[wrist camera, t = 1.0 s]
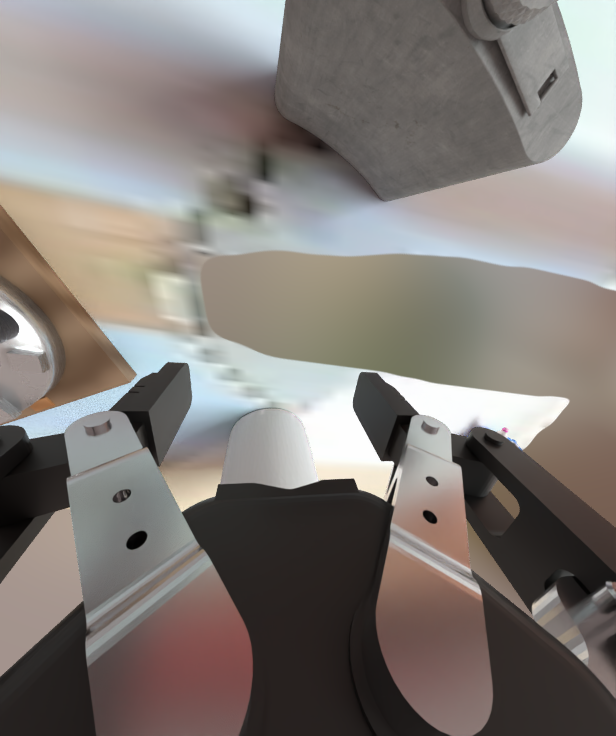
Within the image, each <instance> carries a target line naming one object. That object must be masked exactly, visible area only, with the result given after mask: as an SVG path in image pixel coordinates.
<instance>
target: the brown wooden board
mask: <svg viewBox="0 0 616 736" xmlns="http://www.w3.org/2000/svg"><path fill="white" fill-rule="evenodd" d="M0 275H1V276H2V277H4V278H5V279H7V280H8V281H10V282H11V283H12V284H14V285H15V286H17V287H18V288H19V289H20V290H22V291H23V292H24V293H25V294H26V295H28V296H29V297H30V298H31V299H32V300H33V301H34V302H35V303H36V304H37V305H38V306H39V307H40V308H41V309H42V310H43V312H44V313H45V314H46V315H47V316H48V318H49V319H50V320H51V322H52V323H53V325H54V326H55V328H56V329H57V331H58V334H59V336H60V338H61V340H62V343H63V346H64V349H65V356H66V364H65V370H64V374H63V376H62V378H61V380H60V381H59V382H58V384H57V385H56V386H55V387H54V388H53V389H52V390H51V391H49V392H48V393H47V394H45V395H44V396H43V397H42V398H40V399H39V400H38V401H36V402H35V403H34V404H32V405H31V406H29V407H28V408H26V409H24V410H23V411H21V412H22V414H21V415H19V416H18V417H17V418H16V419H14V420H10V421H7V422H4V423H1V424H0V425H3V424H6V423H9V422H12V421H15V420H18V419H21V418H24V417H27V416H30V415H33V414H36V413H39V412H42V411H45V410H48V409H51V408H54V407H58V406H61V405H64V404H67V403H70V402H73V401H76V400H79V399H82V398H85V397H88V396H91V395H94V394H97V393H100V392H103V391H106V390H109V389H112V388H115V387H118V386H121V385H124V384H127V383H130V382H131V381H132V380H133V379H134V377H135V376H136V375H137V374H136V373H135V372H134V370H133V369H132V368H131V367H130V365H129V364H128V363H127V362H126V361H125V359H124V358H123V357H122V356H121V354H120V353H119V352H118V351H117V349H116V348H115V347H114V346H113V344H112V343H111V342H110V341H109V339H108V338H107V337H106V336H105V334H104V333H103V332H102V331H101V329H100V328H99V327H98V326H97V324H96V323H95V322H94V321H93V319H92V318H91V317H90V316H89V314H88V313H87V312H86V311H85V309H84V308H83V307H82V306H81V304H80V303H79V302H78V301H77V300H76V298H75V297H74V296H73V295H72V293H71V292H70V291H69V290H68V288H67V287H66V286H65V285H64V283H63V282H62V281H61V280H60V278H59V277H58V276H57V275H56V273H55V272H54V271H53V270H52V268H51V267H50V266H49V265H48V263H47V262H46V261H45V260H44V258H43V257H42V256H41V255H40V253H39V252H38V251H37V250H36V248H35V247H34V246H33V245H32V243H31V242H30V241H29V240H28V239H27V237H26V236H25V235H24V234H23V232H22V231H21V230H20V229H19V227H18V226H17V225H16V224H15V222H14V221H13V220H12V219H11V217H10V216H9V215H8V214H7V212H6V211H5V210H4V209H3V207H2V206H1V205H0Z"/></svg>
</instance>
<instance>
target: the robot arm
mask: <svg viewBox="0 0 616 736" xmlns="http://www.w3.org/2000/svg"><path fill="white" fill-rule="evenodd" d="M191 401H192V391H191V381H190V371H189V366H188V364H187V363H173V362H168V363H166V364H165V365H164V366H163V367H162V369H161V370H160V371H159V372H158V373H152V374H150V375H148V376H146V377H143V378H142V379H140V380H139V381H138V382H137V383H136V384H135V385H134V387H132V388H131V389H130V390H129V391H128V393H126V394H125V395H124V396H123V397H122V398H121V399H120V400H119V401H118V402H117V403H116V404H115V405H114V406H113V407H112V408H111V409H110V410H109V411H103V412H98V413H94V414H90V415H87V416H85V417H82V418H80V419H78V420H77V421H75V422H73V423H72V424H71V425H70V426H68V428H67V429H66V430H65V433H62V434H57V435H51V436H45V437H39V438H34V439H29V438H28V435H27V433H26V431H25V430H24V428H22V427H19V426H12V425H7V426H0V583H1V582H2V581H3V579H4V578H5V577H6V575H7V574H8V573H9V571H10V570H11V569H12V567H13V566H14V565H15V564H16V562H17V561H18V559H19V558H20V557H21V556H22V554H23V553H24V552H25V550H26V549H27V548H28V546H29V545H30V544H31V542H32V541H33V540H34V538H35V537H36V536H37V534H38V533H39V532H40V531H41V529H42V528H43V527H44V525H45V524H46V523H47V521H48V520H49V519H50V517H51V516H52V515H53V514H54V512H55V511H58V510H62V509H65V508H69V507H70V510H71V516H72V524H73V530H74V538H75V544H76V552H77V558H78V565H79V572H80V580H81V587H82V593H83V602H81V604H79V605H78V606H77V607H76V608H75V609H74V610H73V611H72V612H70V613H69V614H68V615H67V616H66V617H65V618H64V619H63V620H62V621H61V622H60V623H59V624H57V626H55V627H54V628H53V629H52V630H51V631H50V632H49V633H48V634H47V635H45V636H44V637H43V638H42V639H41V640H40V641H39V642H38V643H37V644H36V645H35V646H33V647H32V648H31V649H30V650H29V651H28V652H27V653H26V654H25V655H24V656H23V657H22V658H20V659H19V660H18V661H17V662H16V663H15V664H14V665H13V666H12V667H11V668H9V669H8V670H7V671H6V672H5V673H4V674H3V675H2V676H1V677H0V736H616V528H615V527H614V526H613V525H611V524H610V523H609V522H608V521H607V520H605V519H604V518H603V517H602V516H601V515H599V514H598V513H597V512H596V511H595V510H593V509H592V508H591V507H590V506H589V505H587V504H586V503H585V502H584V501H582V500H581V499H580V498H579V497H578V496H576V495H575V494H574V493H573V492H572V491H570V490H569V489H568V488H567V487H565V486H564V485H563V484H562V483H560V482H559V481H558V480H557V479H556V478H555V477H553V476H552V475H551V474H550V473H548V472H547V471H546V470H545V469H544V468H543V467H541V466H540V465H539V464H538V463H536V462H535V461H534V460H533V459H531V458H530V457H529V456H528V455H527V454H526V453H524V452H523V451H522V450H521V449H520V448H518V447H517V446H516V445H515V444H513V443H512V442H511V441H510V440H509V439H507V438H506V437H504V436H503V435H501V434H499V433H497V432H495V431H492V430H490V429H486V428H481V427H476V428H473V429H472V430H471V432H470V434H469V436H468V437H465V436H461V435H456V434H451V432H450V430H449V428H448V427H447V426H446V425H445V424H443V423H442V422H440V421H439V420H437V419H435V418H432V417H429V416H426V415H419V414H418V412H417V411H416V410H415V409H414V408H413V407H412V406H411V405H410V404H409V403H408V402H407V401H405V398H404V397H403V396H402V395H400V393H399V392H398V391H397V390H396V389H395V388H394V387H392V386H391V385H389V384H388V383H386V382H385V381H384V380H383V379H382V378H381V377H380V376H379V375H378V374H377V373H371V372H361V373H360V375H359V378H358V382H357V386H356V390H355V394H354V398H353V408H354V411H355V413H356V415H357V417H358V419H359V421H360V422H361V424H362V426H363V428H364V430H365V432H366V434H367V436H368V437H369V439H370V441H371V443H372V445H373V447H374V449H375V450H376V452H377V454H378V456H379V458H380V460H381V461H393V462H394V465H393V468H392V471H391V474H390V478H389V482H388V485H387V489H386V493H385V496H384V500H383V499H381V498H379V497H377V496H375V495H373V494H371V493H368V492H365V491H361V490H358V488H357V485H356V483H355V480H354V479H333V480H321V481H318V482H315V483H311V484H308V485H304V486H301V487H298V488H294V489H285V488H279V487H274V486H269V485H264V484H258V483H237V484H218V488H217V492H216V496H215V497H212V498H209V499H206V500H204V501H201V502H199V503H197V504H195V505H193V506H191V507H189V508H188V509H186V510H185V511H183V512H181V511H180V509H179V507H178V505H177V503H176V501H175V499H174V497H173V495H172V493H171V491H170V489H169V488H168V486H167V484H166V482H165V480H164V478H163V476H162V474H161V472H160V470H159V468H158V466H160V465H161V463H162V461H163V459H164V457H165V455H166V453H167V451H168V449H169V447H170V445H171V443H172V441H173V439H174V437H175V435H176V433H177V432H178V430H179V428H180V426H181V424H182V422H183V420H184V418H185V416H186V414H187V412H188V410H189V408H190V405H191ZM497 480H499V481H500V482H501V483H502V484H503V485H504V486H505V487H506V488H507V489H508V490H509V491H510V492H511V493H512V494H513V495H514V497H515V498H516V499H517V501H518V503H519V506H520V512H519V515H518V516H517V517H516V519H514V518H513V517H512V516H511V514H510V513H509V512H508V511H507V510H506V509H505V508H504V507H503V505H502V504H501V503H500V502H499V501H498V499H497V498H496V497H495V496H494V495H493V494H492V493H491V489H492V488H493V486H494V485H495V483H496V481H497ZM466 519H467V520H468V522H469V523H470V524H471V526H472V528H473V529H474V531H475V532H476V533H477V535H478V536H479V538H480V539H481V541H482V542H483V544H484V545H485V546H486V548H487V549H488V551H489V552H490V554H491V555H492V557H493V558H494V560H495V561H496V563H497V564H498V565H499V567H500V568H501V570H502V571H503V573H504V574H505V576H506V577H507V579H508V580H509V582H510V583H511V584H512V586H513V587H514V589H515V590H516V592H517V593H518V595H519V596H520V597H521V599H522V600H523V602H524V603H525V605H526V606H527V608H528V609H529V611H530V612H531V614H532V615H533V617H534V620H535V621H534V620H533V619H532V618H530V617H529V616H528V615H527V614H526V613H524V612H523V611H522V610H521V609H519V608H518V607H517V606H516V605H514V604H513V603H512V602H511V601H510V600H508V599H507V598H506V597H505V596H503V595H502V594H501V593H499V592H498V591H497V590H496V589H495V588H493V587H492V586H491V585H489V583H487V582H486V581H485V580H484V579H482V578H481V577H480V576H479V575H477V574H476V573H475V572H474V571H472V570H471V567H470V557H469V547H468V535H467V524H466Z"/></svg>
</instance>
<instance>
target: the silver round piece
mask: <svg viewBox="0 0 616 736" xmlns="http://www.w3.org/2000/svg"><path fill="white" fill-rule="evenodd" d="M65 364H66V356H65V349H64V346H63V343H62V340H61V338H60V336H59V334H58V331H57V329H56V328H55V326H54V325H53V323H52V322H51V320H50V319H49V318H48V316H47V315H46V314H45V313H44V312H43V310H42V309H41V308H40V307H39V306H38V305H37V304H36V303H35V302H34V301H33V300H32V299H31V298H30V297H29V296H28V295H26V294H25V293H24V292H23V291H22V290H20V289H19V288H18V287H17V286H15V285H14V284H12V283H11V282H10V281H8V280H7V279H5V278H4V277H2V276H1V275H0V424H1V423H4V422H7V421H10V420H14V419H16V418H17V417H18V416H19V415H21V414H22V412H21V411H23V410H24V409H26V408H28V407H29V406H31V405H32V404H34V403H35V402H36V401H38V400H39V399H40V398H42V397H43V396H44V395H45V394H47V393H48V392H49V391H51V390H52V389H53V388H54V387H55V386H56V385H57V384H58V382H59V381H60V380H61V378H62V376H63V374H64V370H65Z"/></svg>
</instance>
